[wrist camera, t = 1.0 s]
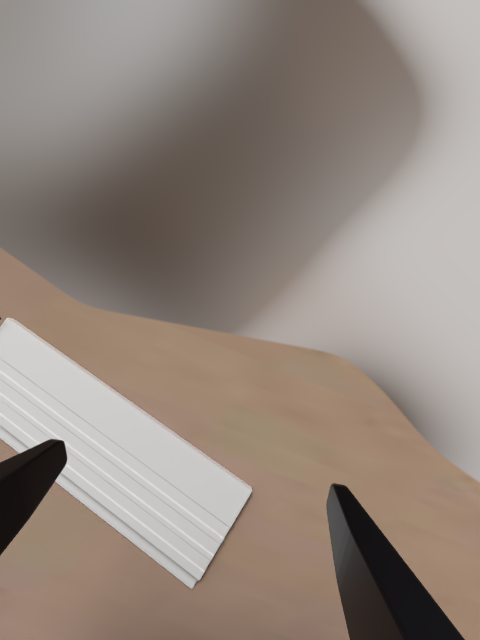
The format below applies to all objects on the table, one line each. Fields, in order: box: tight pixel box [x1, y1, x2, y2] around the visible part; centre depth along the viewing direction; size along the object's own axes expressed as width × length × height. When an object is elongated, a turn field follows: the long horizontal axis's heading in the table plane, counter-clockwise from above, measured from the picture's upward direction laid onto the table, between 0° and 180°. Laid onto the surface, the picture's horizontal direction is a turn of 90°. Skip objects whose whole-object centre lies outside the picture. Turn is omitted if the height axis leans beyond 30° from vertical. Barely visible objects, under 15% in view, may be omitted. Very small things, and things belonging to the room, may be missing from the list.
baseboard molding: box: [0, 318, 252, 589], centre depth 22 cm, size 31×3×12 cm
